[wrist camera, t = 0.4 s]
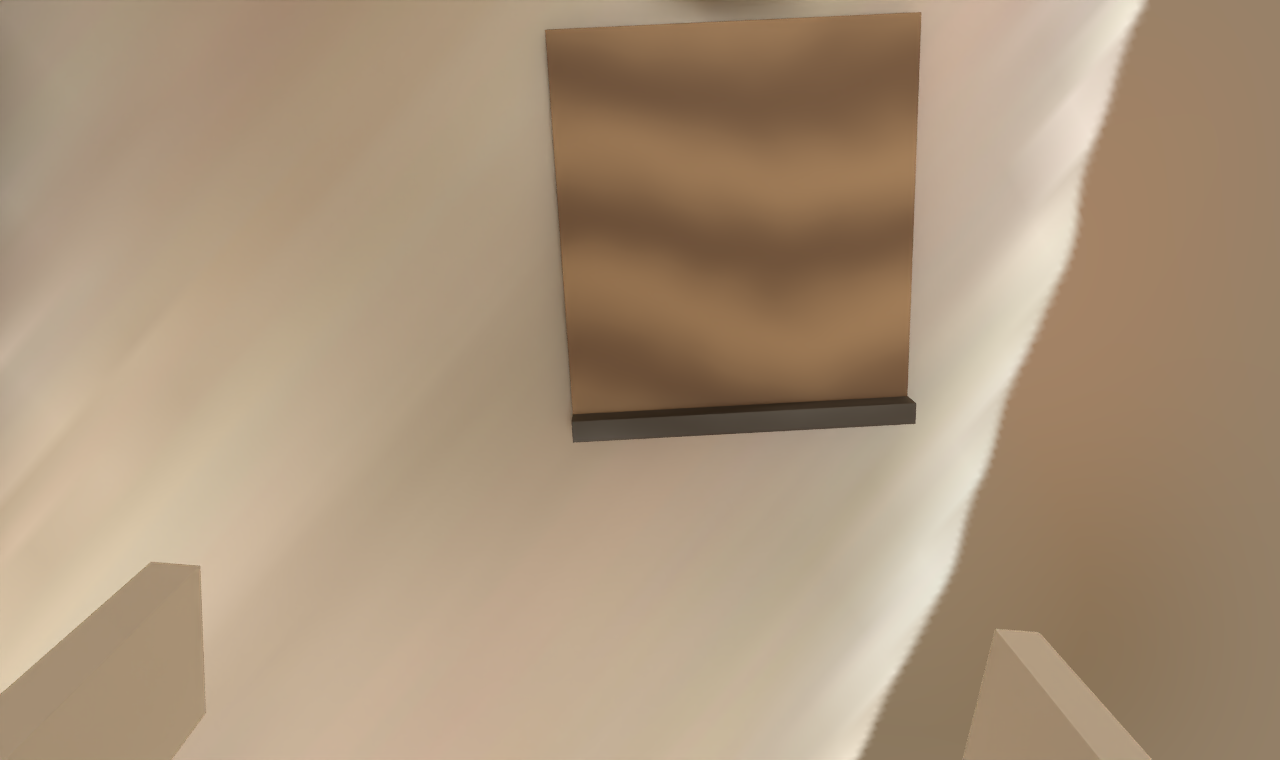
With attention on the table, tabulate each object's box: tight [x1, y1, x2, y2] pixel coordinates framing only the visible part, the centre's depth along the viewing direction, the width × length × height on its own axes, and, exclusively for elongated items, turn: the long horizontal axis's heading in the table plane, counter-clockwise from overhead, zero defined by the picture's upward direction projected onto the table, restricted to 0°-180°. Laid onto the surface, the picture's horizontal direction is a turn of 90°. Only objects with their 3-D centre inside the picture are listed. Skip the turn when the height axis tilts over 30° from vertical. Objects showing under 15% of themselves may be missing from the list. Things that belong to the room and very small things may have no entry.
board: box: [545, 12, 921, 442], centre depth 37 cm, size 18×16×2 cm
